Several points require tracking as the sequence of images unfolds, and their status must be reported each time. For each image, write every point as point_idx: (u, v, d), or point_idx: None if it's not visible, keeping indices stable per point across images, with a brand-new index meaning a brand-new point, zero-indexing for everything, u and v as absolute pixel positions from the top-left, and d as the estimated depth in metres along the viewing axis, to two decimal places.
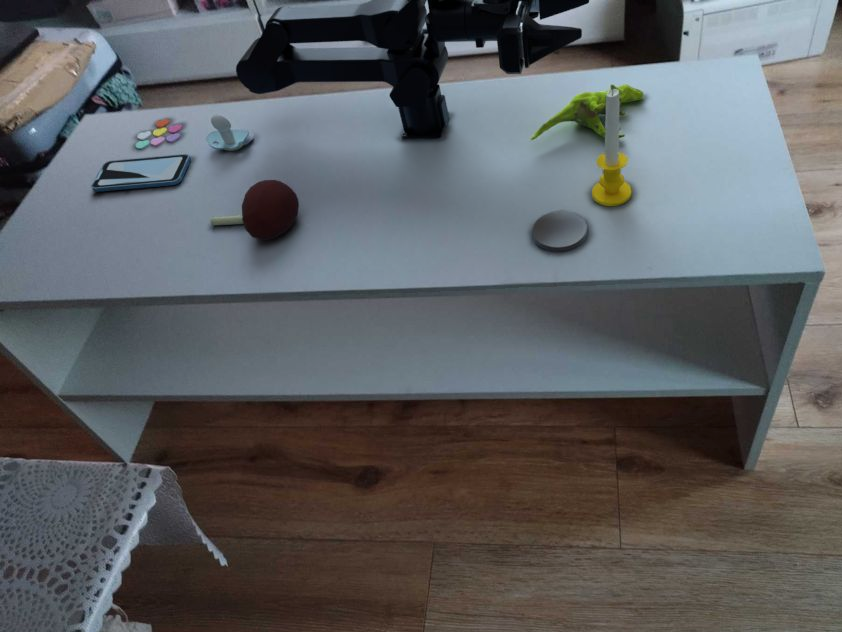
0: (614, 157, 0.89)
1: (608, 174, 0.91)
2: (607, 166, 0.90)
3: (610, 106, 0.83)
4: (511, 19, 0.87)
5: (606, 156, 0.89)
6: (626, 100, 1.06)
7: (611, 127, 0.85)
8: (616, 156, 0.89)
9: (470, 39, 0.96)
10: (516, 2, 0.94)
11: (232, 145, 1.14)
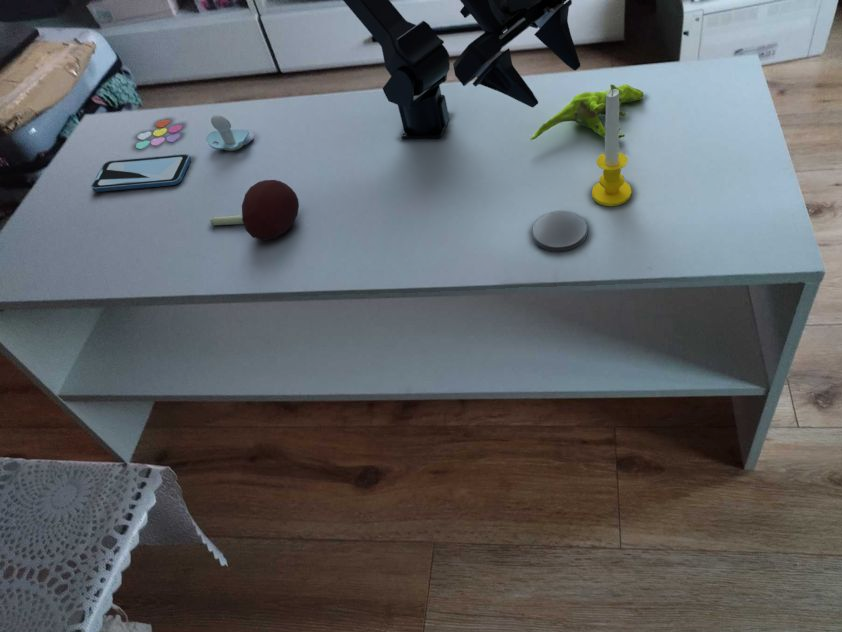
0: (614, 157, 0.89)
1: (608, 174, 0.91)
2: (607, 166, 0.90)
3: (610, 106, 0.83)
4: (492, 43, 0.81)
5: (606, 156, 0.89)
6: (626, 100, 1.06)
7: (611, 127, 0.85)
8: (616, 156, 0.89)
9: None
10: (523, 12, 0.86)
11: (232, 145, 1.14)
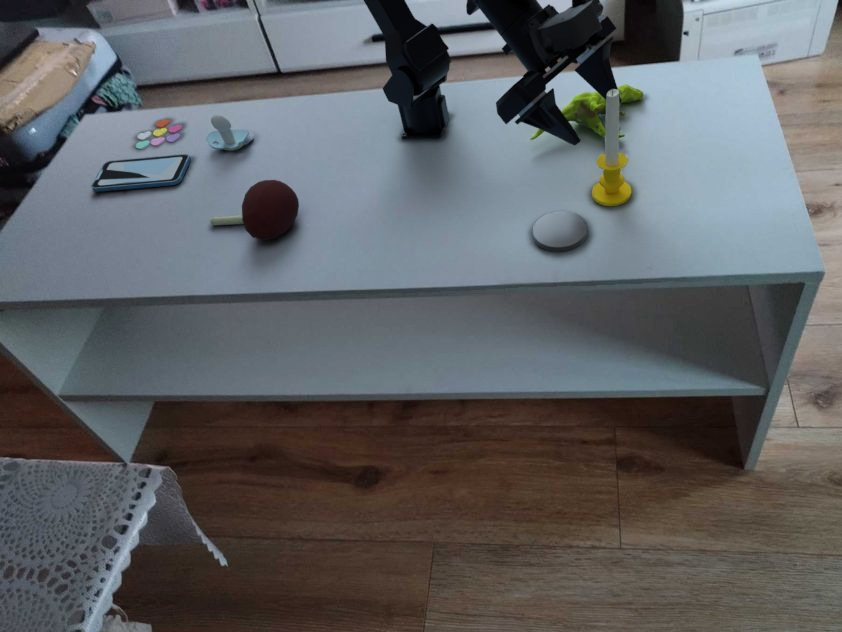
0: (614, 157, 0.89)
1: (608, 174, 0.91)
2: (607, 166, 0.90)
3: (610, 106, 0.83)
4: (536, 83, 0.80)
5: (606, 156, 0.89)
6: (626, 100, 1.06)
7: (611, 127, 0.85)
8: (616, 156, 0.89)
9: (503, 38, 0.85)
10: (565, 49, 0.85)
11: (232, 145, 1.14)
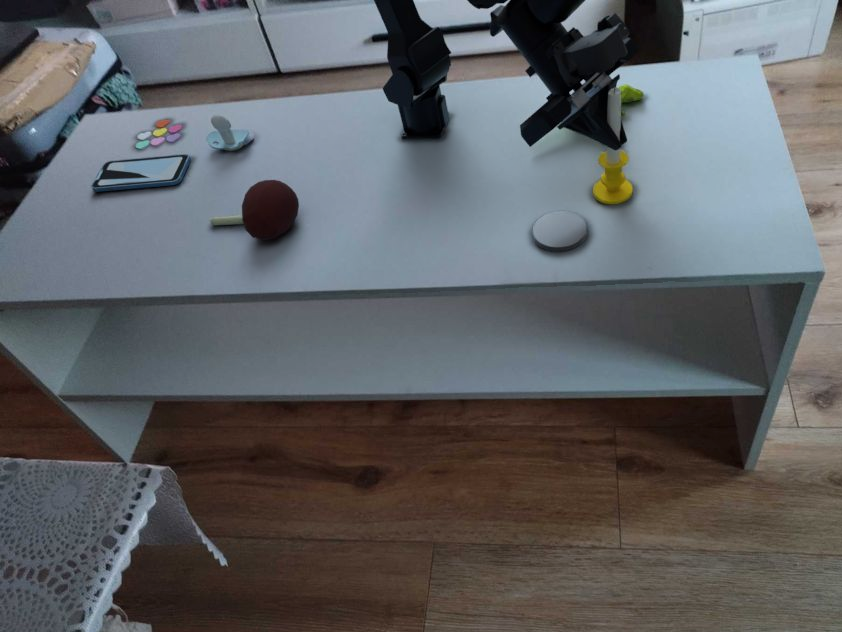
0: (616, 155, 0.89)
1: (609, 172, 0.91)
2: (608, 164, 0.90)
3: (612, 105, 0.83)
4: (562, 108, 0.80)
5: (607, 154, 0.89)
6: (626, 100, 1.06)
7: (613, 125, 0.86)
8: (617, 154, 0.89)
9: (526, 60, 0.85)
10: None
11: (232, 145, 1.14)
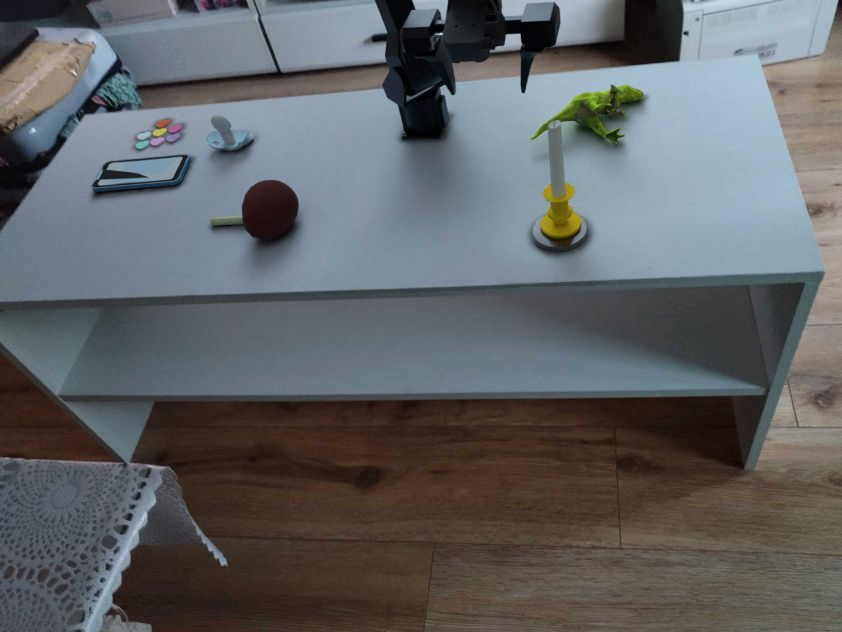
0: (559, 189, 0.85)
1: (553, 205, 0.87)
2: (552, 197, 0.86)
3: (551, 137, 0.80)
4: (419, 44, 0.84)
5: (551, 187, 0.86)
6: (626, 100, 1.06)
7: (554, 159, 0.82)
8: (561, 188, 0.85)
9: None
10: None
11: (232, 145, 1.14)
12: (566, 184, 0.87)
